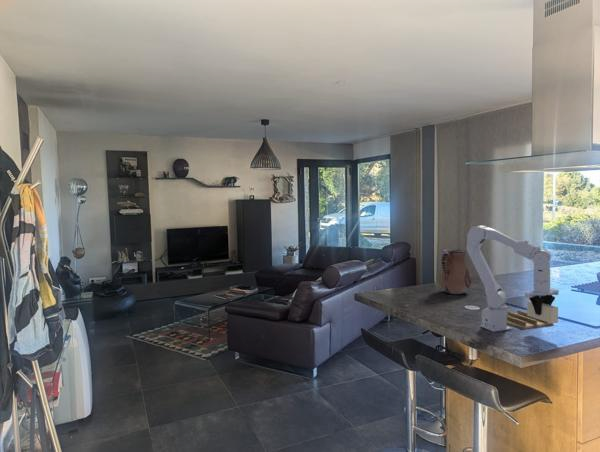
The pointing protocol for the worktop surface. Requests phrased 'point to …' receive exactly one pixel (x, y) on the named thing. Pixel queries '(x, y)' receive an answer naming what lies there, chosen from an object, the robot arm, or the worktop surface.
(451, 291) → the ceramic pitcher
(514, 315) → the ridged tan board
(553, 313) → the cream rectangular block
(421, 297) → the worktop surface
